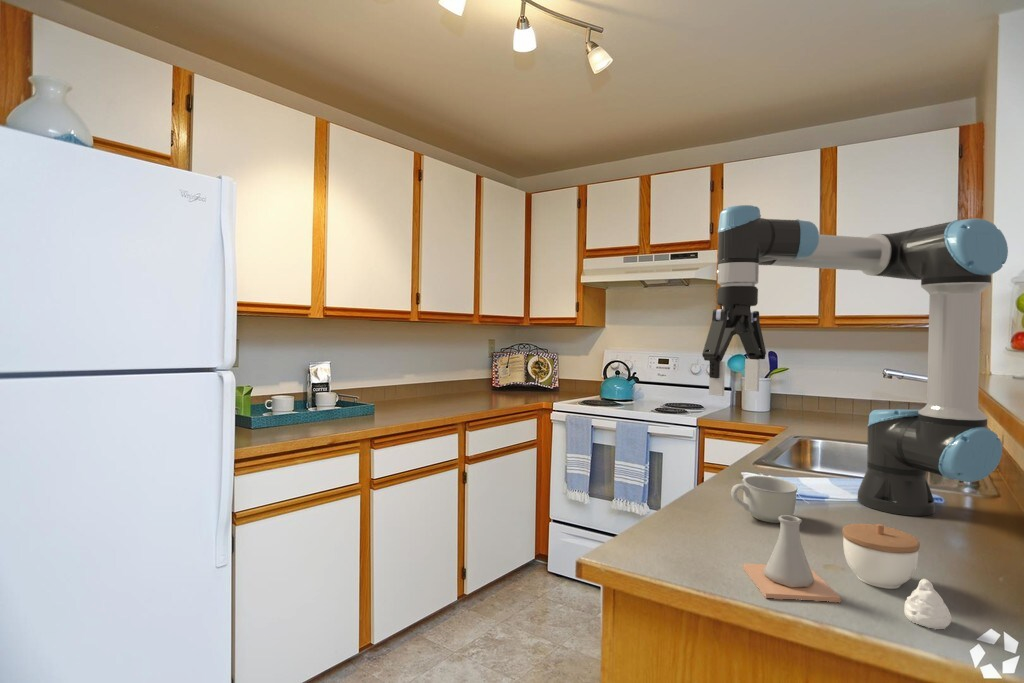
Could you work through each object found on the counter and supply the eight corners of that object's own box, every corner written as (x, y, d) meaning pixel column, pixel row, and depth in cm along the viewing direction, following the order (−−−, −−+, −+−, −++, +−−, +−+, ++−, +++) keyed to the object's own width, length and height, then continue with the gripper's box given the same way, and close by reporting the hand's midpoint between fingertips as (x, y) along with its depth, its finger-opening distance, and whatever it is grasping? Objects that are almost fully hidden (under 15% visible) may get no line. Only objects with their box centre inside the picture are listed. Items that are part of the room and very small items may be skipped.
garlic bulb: (900, 569, 84) (944, 575, 82) (899, 609, 84) (942, 616, 82) (911, 585, 79) (959, 592, 77) (910, 627, 79) (957, 635, 77)
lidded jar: (890, 601, 87) (892, 540, 87) (826, 572, 97) (828, 518, 96) (933, 588, 91) (935, 531, 91) (868, 562, 101) (870, 511, 101)
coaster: (808, 571, 97) (809, 566, 97) (840, 602, 86) (840, 597, 86) (742, 568, 98) (742, 563, 98) (765, 598, 87) (765, 593, 87)
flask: (754, 573, 94) (755, 514, 94) (784, 566, 97) (786, 508, 97) (792, 592, 87) (794, 528, 87) (823, 584, 90) (825, 522, 90)
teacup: (785, 511, 129) (786, 476, 129) (804, 528, 118) (806, 490, 118) (722, 508, 130) (723, 474, 130) (736, 525, 119) (737, 487, 119)
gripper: (750, 290, 123) (747, 387, 123) (684, 283, 107) (682, 395, 107) (785, 288, 117) (782, 390, 117) (721, 281, 101) (718, 399, 101)
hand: (734, 393), depth 112 cm, fingers open, 13 cm apart
